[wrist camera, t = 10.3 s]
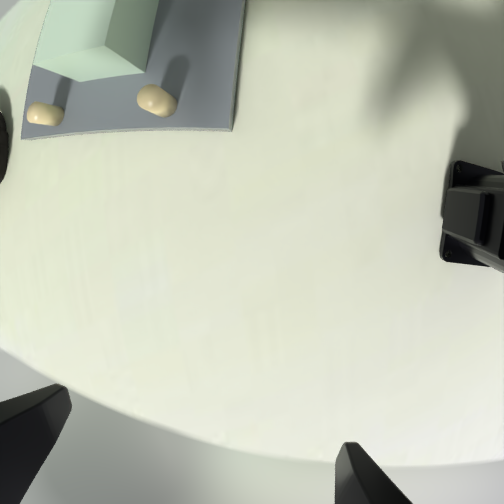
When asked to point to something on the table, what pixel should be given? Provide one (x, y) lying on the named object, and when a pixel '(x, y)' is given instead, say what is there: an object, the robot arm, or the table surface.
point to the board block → (96, 38)
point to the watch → (3, 147)
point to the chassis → (151, 80)
